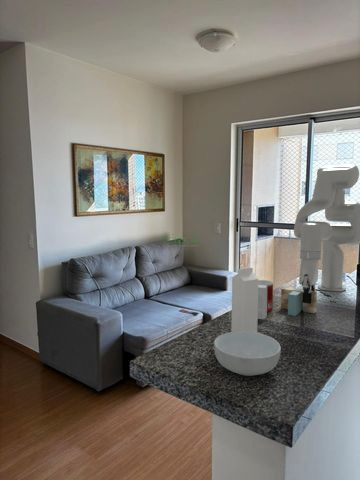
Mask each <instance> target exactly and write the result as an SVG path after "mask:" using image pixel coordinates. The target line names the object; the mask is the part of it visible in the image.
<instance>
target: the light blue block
mask: <svg viewBox="0 0 360 480" xmlns="http://www.w3.org/2000/svg"><path fill="white" fill-rule="evenodd" d="M295 289H302V290H303V285H299V286H297V287H296V288H295ZM301 312H303V302H302V301H301V292H297V291H292V292H291V293H290V294H289V295H288V309H287V315H288V316H293V317H297V315H299V314H300V313H301Z"/></svg>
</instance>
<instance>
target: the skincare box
mask: <svg viewBox="0 0 360 480" xmlns="http://www.w3.org/2000/svg"><path fill="white" fill-rule="evenodd" d="M267 316H268V312H267V285H258V320H265V319H266V318H267Z"/></svg>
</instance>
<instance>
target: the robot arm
mask: <svg viewBox="0 0 360 480" xmlns="http://www.w3.org/2000/svg"><path fill="white" fill-rule="evenodd" d="M359 177H360V170H359V167H358V166H357V165H356V164H343V165H325V166H322V167H319V168H318V169H317V171H316V179H315V183H314V188H313V192H312V198H311V199H310V200H309V201H307V202H306V203H304V205H303V206H302V207H301V208H300V209H299V211H298V212H297V214H296V217H295V218H296V219H295V222H294V226H293V234H294V237H295V238H297V239H298V240H300V248H299V252H300V254H299V259H300V260H301V261H300V268H299V279H298V284H299V286H303V298H302V302H303V303H309V304H311V297H312V293H311V291H316V283H317V282H318V279H319V261H321V258H322V261H321V279H320V281H321V283H318V285H317V288H318V289H320V290H322V291H327V292H344V291H346V288H347V287H346V286H345V285H343V279H344V257H345V254H344V251H343V249H342V247H340V245H347V246H358V245H359V244H360V203H359V202H357V201H346V198H345V195H346V193H345V192H346V191H345V189H352V188H353V187H354V186H355V185H356V184H357V182H358V181H359ZM323 210H324V217H325V220H327V221H328V222H327V221H316V220H314V221H313V220H306V219H307V218H308V217H309V216H312V215H313V214H315V213H318V212H320V211H321V212H322V211H323ZM329 222H334V223H335V224H334V223H331V224H330V223H329ZM337 223H339V224H337ZM341 223H349V224H341Z"/></svg>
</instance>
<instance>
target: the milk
mask: <svg viewBox="0 0 360 480" xmlns="http://www.w3.org/2000/svg"><path fill="white" fill-rule="evenodd" d="M253 271H254V270H253V267H248V268H239V269H237V274H235V275H234V276H233V277H231V327H230V328H231V329H230V330H231V331H230V332H235V331H249V332H256V333H258V321H259V319H258V280H259V278H258V276H256V274H255V273H254V272H253Z"/></svg>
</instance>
